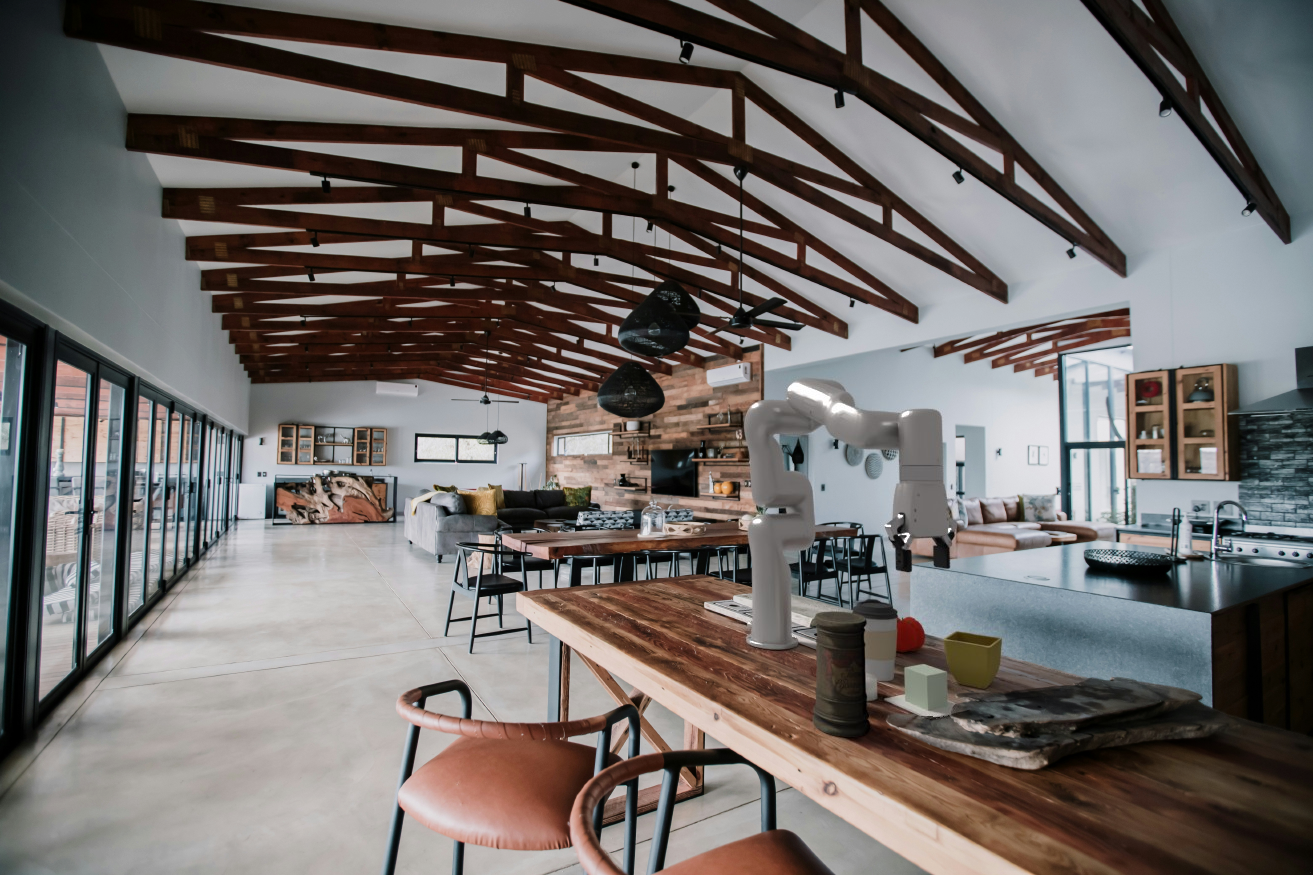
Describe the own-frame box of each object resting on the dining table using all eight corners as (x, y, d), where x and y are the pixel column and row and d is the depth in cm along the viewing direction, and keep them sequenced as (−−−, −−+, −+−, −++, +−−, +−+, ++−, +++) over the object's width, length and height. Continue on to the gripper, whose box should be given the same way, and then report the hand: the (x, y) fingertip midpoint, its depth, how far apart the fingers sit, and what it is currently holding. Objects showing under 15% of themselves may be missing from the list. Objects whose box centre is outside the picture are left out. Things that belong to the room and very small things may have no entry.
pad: (884, 700, 113) (884, 698, 113) (923, 691, 117) (923, 690, 117) (929, 719, 104) (929, 718, 104) (969, 710, 108) (969, 708, 108)
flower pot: (943, 684, 121) (942, 638, 122) (957, 673, 128) (956, 630, 128) (992, 695, 115) (990, 646, 116) (1004, 683, 122) (1002, 637, 122)
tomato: (877, 650, 145) (876, 618, 145) (890, 642, 151) (890, 611, 152) (918, 658, 139) (917, 624, 139) (930, 649, 145) (929, 617, 146)
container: (802, 720, 103) (801, 612, 104) (844, 712, 107) (843, 608, 108) (837, 742, 95) (836, 624, 96) (882, 732, 99) (880, 619, 100)
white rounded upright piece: (837, 692, 117) (836, 674, 117) (860, 687, 119) (860, 669, 120) (860, 703, 111) (860, 683, 112) (884, 698, 114) (883, 678, 114)
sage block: (905, 700, 111) (904, 667, 112) (924, 696, 114) (923, 663, 114) (927, 710, 107) (926, 675, 107) (947, 705, 109) (946, 671, 109)
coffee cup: (903, 684, 121) (901, 607, 122) (855, 681, 123) (854, 605, 124) (895, 670, 130) (893, 598, 131) (850, 667, 132) (849, 596, 133)
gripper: (936, 475, 120) (938, 563, 119) (870, 475, 112) (872, 569, 111) (971, 476, 113) (973, 569, 112) (903, 476, 106) (905, 575, 105)
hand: (923, 569), depth 112 cm, fingers open, 9 cm apart
